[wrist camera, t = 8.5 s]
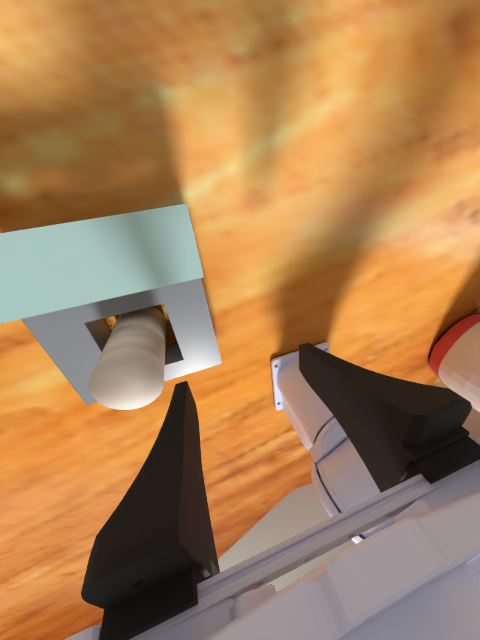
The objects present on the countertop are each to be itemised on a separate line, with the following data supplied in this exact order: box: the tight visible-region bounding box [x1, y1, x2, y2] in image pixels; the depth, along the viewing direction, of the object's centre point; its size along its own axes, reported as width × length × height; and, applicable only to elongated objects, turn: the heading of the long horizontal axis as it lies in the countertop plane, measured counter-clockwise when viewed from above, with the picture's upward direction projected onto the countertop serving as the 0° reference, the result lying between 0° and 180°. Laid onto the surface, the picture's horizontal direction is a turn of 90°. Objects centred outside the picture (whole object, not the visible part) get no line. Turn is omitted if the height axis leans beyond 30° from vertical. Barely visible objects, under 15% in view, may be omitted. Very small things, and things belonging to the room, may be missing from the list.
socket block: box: [0, 204, 222, 405], centre depth 16 cm, size 14×12×6 cm
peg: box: [88, 306, 166, 410], centre depth 16 cm, size 4×4×8 cm
